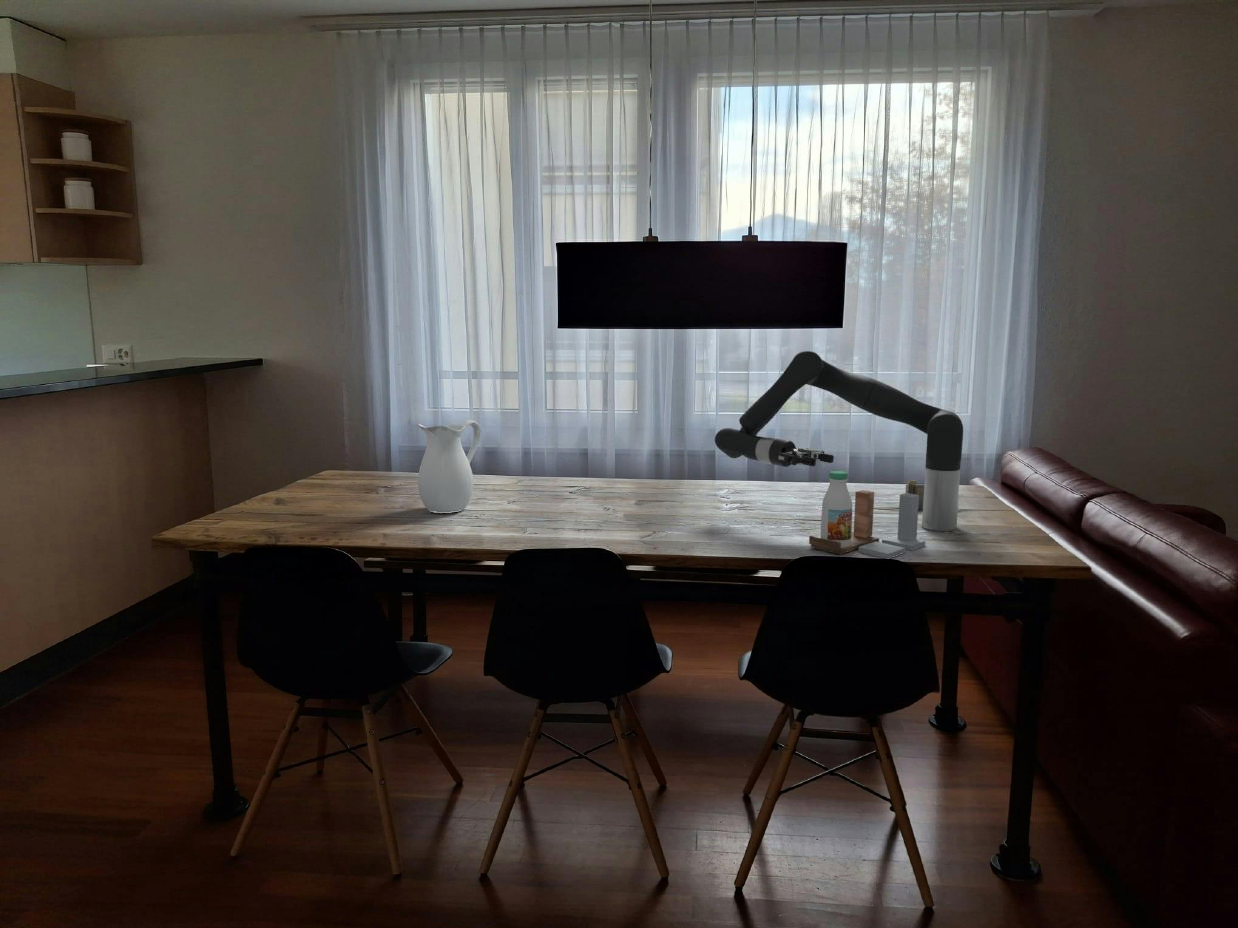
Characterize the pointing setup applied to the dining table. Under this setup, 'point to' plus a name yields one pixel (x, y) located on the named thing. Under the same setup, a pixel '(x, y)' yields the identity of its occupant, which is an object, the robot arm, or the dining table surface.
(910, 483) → the ruin model on sheet
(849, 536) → the milk bottle
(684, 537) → the dining table surface
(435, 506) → the pitcher
